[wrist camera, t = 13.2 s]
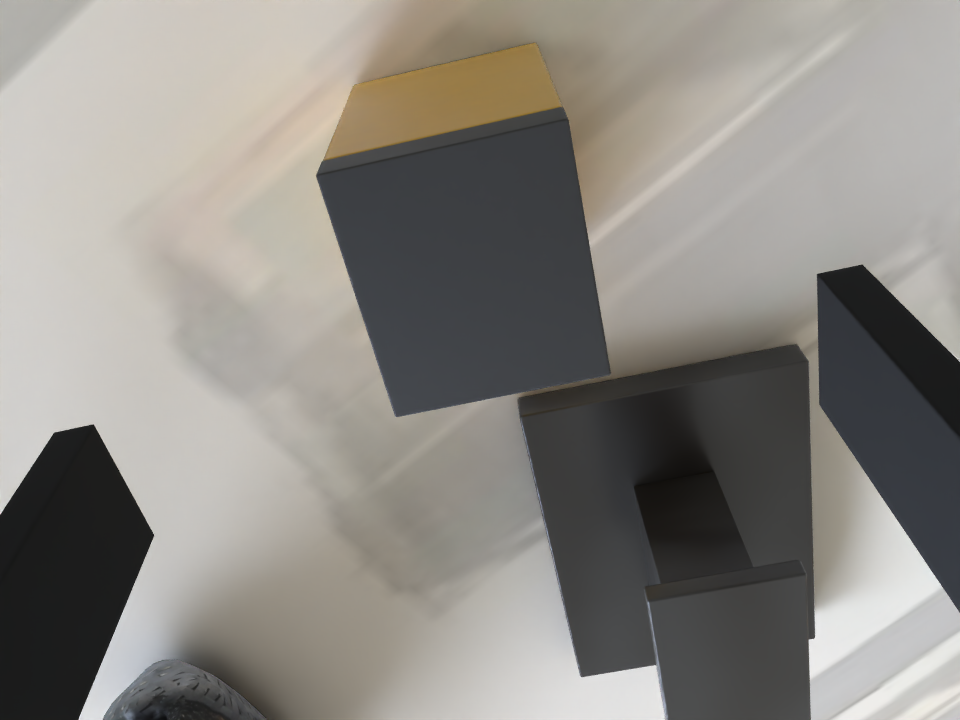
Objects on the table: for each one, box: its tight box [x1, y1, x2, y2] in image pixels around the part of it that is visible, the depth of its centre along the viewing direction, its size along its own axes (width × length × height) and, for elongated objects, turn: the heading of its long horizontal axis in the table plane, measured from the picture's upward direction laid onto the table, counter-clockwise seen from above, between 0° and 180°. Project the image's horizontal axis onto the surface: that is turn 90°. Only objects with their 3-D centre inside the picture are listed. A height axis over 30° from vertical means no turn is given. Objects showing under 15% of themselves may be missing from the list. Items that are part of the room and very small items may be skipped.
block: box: [316, 43, 611, 417], centre depth 23 cm, size 6×6×8 cm
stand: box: [518, 344, 815, 720], centre depth 31 cm, size 10×14×9 cm
